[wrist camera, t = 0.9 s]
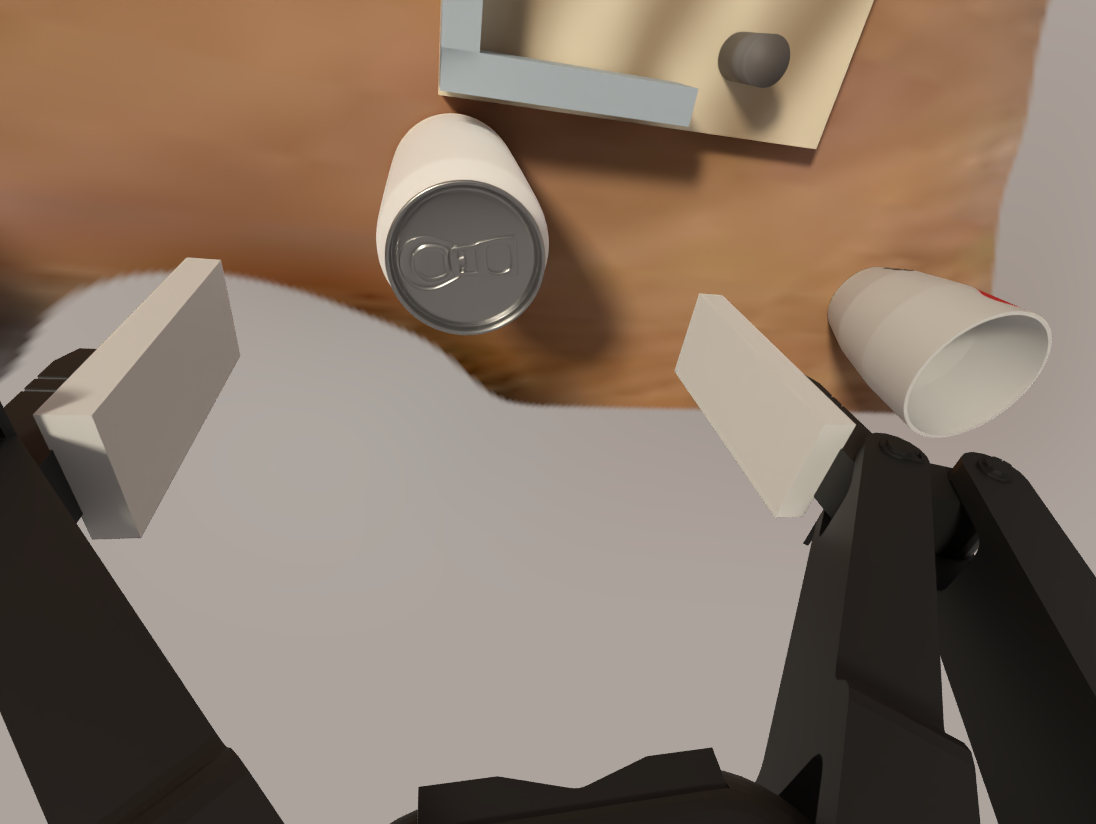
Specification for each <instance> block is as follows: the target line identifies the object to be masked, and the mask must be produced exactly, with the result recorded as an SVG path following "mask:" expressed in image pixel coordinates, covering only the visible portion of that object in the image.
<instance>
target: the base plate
mask: <svg viewBox="0 0 1096 824" xmlns="http://www.w3.org/2000/svg"><path fill="white" fill-rule="evenodd" d="M873 1H874V0H483V8H482V24H481V40H480V50H485V51H491V52H497V53H503V54H509V55H515V56H521V57H528V58H534V59H540V60H546V61H552V62H558V63H564V64H570V65H576V66H582V67H588V68H594V69H600V70H606V71H612V72H618V73H625V74H631V75H637V76H643V77H649V78H655V79H661V80H667V81H673V82H677V83H681V84H684V85H687V86H691V87H694V88H698V89H699V90H698V93H697V97H696V101H695V105H694V109H693V113H692V116H691V120H690V124H689V127H686V126H679V125H672V124H665V123H659V122H652V121H645V120H638V119H631V118H624V117H617V116H611V115H604V114H597V113H590V112H583V111H576V110H570V109H563V108H556V107H549V106H542V105H535V104H528V103H522V102H515V101H508V100H501V99H494V98H487V97H481V96H474V95H467V94H460V93H453V92H446V91H440V87H439V82H438V94H439V95H444V96H451V97H457V98H464V99H471V100H478V101H485V102H492V103H499V104H506V105H513V106H520V107H527V108H534V109H541V110H548V111H554V112H561V113H568V114H575V115H582V116H589V117H596V118H603V119H610V120H617V121H624V122H631V123H638V124H645V125H651V126H658V127H665V128H672V129H679V130H686V131H693V132H700V133H707V134H714V135H721V136H728V137H735V138H742V139H748V140H755V141H762V142H769V143H776V144H783V145H790V146H797V147H804V148H811V149H816V148H817V146H818V143H819V141H820V138H821V136H822V133H823V130H824V128H825V125H826V123H827V120H828V117H829V115H830V112H831V110H832V107H833V105H834V102H835V99H836V97H837V94H838V92H839V89H840V86H841V84H842V81H843V79H844V76H845V74H846V71H847V68H848V66H849V63H850V61H851V58H852V55H853V53H854V50H855V48H856V45H857V43H858V40H859V37H860V35H861V32H862V30H863V27H864V25H865V22H866V19H867V17H868V14H869V12H870V9H871V6H872V4H873ZM440 30H441V8H440ZM439 66H440V45H439Z"/></svg>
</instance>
